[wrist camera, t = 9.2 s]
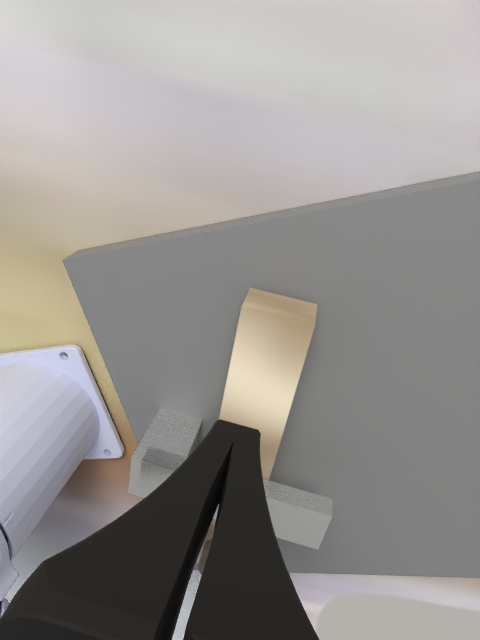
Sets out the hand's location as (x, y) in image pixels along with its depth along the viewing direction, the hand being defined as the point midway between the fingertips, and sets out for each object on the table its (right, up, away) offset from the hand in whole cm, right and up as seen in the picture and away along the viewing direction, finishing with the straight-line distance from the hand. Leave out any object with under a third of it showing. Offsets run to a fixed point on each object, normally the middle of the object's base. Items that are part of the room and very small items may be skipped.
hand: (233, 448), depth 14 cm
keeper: (0, -3, +10) cm, 11 cm away
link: (+1, -2, +10) cm, 10 cm away
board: (+5, -1, +10) cm, 11 cm away
